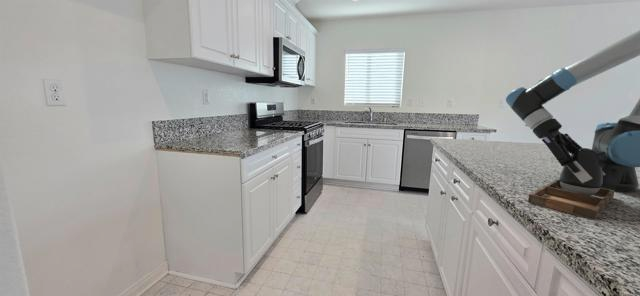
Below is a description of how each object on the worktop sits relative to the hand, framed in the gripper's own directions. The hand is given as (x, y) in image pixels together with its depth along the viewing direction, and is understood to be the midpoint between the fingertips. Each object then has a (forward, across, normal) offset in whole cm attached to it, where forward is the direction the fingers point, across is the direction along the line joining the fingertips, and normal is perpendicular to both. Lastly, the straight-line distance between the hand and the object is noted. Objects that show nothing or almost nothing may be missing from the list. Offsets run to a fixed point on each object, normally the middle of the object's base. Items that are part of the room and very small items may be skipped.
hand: (594, 178), depth 85 cm
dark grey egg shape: (+2, 0, -6) cm, 7 cm away
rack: (+3, +7, -6) cm, 10 cm away
